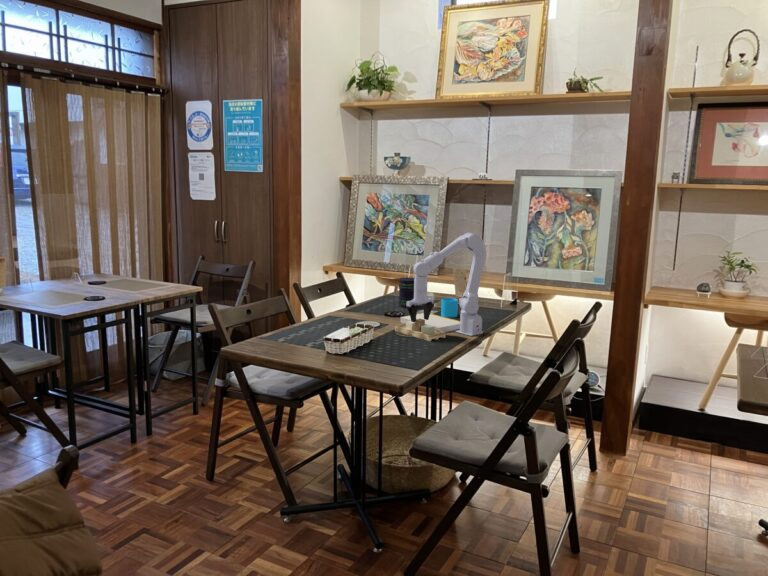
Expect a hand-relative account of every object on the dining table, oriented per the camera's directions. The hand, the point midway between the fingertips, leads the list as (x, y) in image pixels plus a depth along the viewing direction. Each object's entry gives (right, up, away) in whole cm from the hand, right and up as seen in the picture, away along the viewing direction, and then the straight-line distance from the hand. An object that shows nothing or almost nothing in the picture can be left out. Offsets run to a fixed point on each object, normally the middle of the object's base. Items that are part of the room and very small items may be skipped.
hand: (419, 320), depth 272 cm
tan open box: (0, -6, +1) cm, 7 cm away
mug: (+18, +1, +40) cm, 44 cm away
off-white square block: (-3, -4, +5) cm, 7 cm away
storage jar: (-3, +4, +59) cm, 59 cm away
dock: (+7, -3, +18) cm, 19 cm away
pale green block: (+3, -5, -3) cm, 7 cm away
